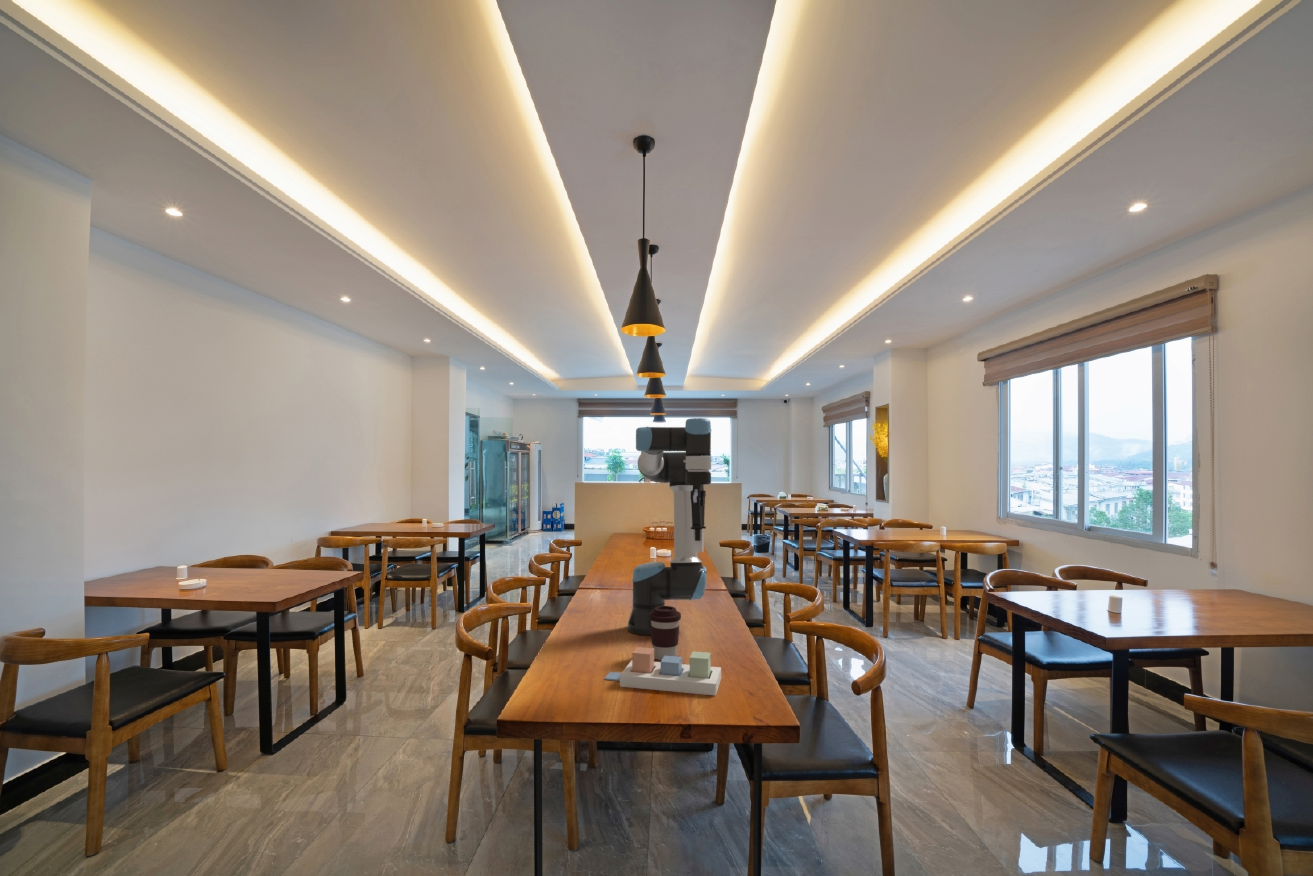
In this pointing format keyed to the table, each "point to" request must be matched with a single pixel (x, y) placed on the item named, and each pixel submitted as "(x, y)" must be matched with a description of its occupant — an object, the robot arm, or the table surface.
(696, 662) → the button sage
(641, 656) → the button terracotta
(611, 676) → the swatch
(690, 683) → the button board
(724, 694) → the table surface
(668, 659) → the button slate
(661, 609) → the coffee cup
